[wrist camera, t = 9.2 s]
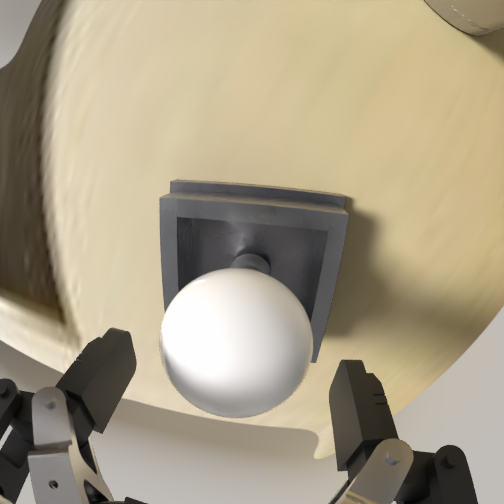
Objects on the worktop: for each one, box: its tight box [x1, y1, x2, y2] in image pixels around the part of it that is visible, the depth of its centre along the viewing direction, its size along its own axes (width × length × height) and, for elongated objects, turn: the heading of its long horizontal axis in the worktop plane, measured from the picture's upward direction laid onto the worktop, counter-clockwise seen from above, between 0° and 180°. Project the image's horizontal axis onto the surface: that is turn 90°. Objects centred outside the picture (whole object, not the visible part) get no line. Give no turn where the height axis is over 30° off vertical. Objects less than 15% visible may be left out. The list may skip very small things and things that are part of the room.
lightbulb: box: [159, 254, 313, 418], centre depth 13 cm, size 6×6×11 cm
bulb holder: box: [160, 180, 349, 363], centre depth 18 cm, size 11×11×4 cm
